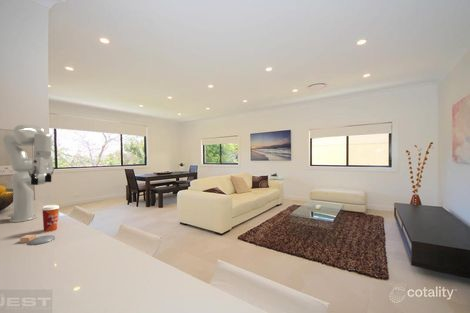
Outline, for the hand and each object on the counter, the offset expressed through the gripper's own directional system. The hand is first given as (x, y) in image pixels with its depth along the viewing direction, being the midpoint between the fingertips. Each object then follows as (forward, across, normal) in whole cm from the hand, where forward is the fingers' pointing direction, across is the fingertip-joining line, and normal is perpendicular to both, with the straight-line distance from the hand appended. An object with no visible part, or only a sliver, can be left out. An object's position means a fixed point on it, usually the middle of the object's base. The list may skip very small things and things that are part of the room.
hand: (41, 183), depth 122 cm
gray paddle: (+26, -19, -13) cm, 35 cm away
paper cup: (+27, -4, -8) cm, 28 cm away
